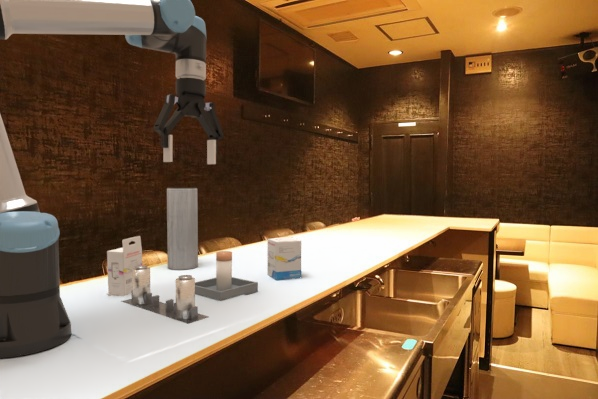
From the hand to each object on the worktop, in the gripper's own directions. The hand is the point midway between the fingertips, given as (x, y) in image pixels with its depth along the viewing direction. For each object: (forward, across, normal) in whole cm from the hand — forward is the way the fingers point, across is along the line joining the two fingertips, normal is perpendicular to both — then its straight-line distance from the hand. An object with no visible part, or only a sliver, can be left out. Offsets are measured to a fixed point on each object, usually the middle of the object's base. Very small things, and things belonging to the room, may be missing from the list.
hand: (190, 163), depth 111 cm
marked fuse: (+33, +7, -6) cm, 34 cm away
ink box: (+34, +31, -5) cm, 46 cm away
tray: (+34, +6, -6) cm, 35 cm away
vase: (+34, +20, +31) cm, 50 cm away
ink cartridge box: (+34, -10, +14) cm, 39 cm away
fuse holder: (+34, -13, -7) cm, 37 cm away
